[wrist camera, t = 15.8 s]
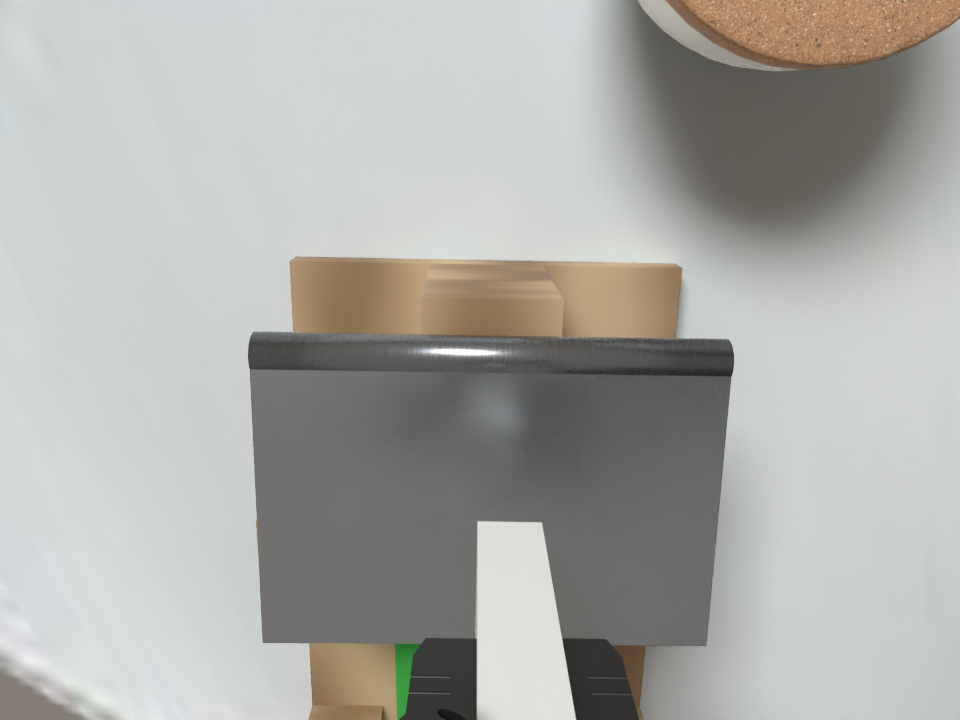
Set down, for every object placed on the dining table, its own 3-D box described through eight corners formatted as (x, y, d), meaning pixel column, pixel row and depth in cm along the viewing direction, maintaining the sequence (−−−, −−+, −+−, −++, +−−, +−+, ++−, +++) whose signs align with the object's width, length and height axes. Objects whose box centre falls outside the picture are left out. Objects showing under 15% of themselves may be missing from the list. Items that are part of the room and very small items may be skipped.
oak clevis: (674, 263, 28) (741, 302, 21) (628, 745, 34) (669, 895, 27) (296, 256, 27) (239, 294, 21) (319, 744, 33) (282, 895, 27)
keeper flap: (720, 335, 21) (735, 343, 20) (694, 624, 23) (707, 648, 22) (259, 328, 21) (247, 336, 20) (272, 621, 23) (261, 644, 22)
